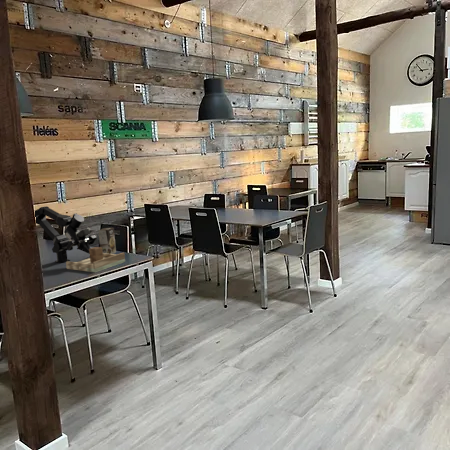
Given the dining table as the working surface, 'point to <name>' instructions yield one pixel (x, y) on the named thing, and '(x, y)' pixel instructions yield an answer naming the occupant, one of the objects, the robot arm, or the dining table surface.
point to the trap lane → (97, 263)
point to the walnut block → (95, 254)
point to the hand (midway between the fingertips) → (90, 253)
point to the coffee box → (107, 240)
